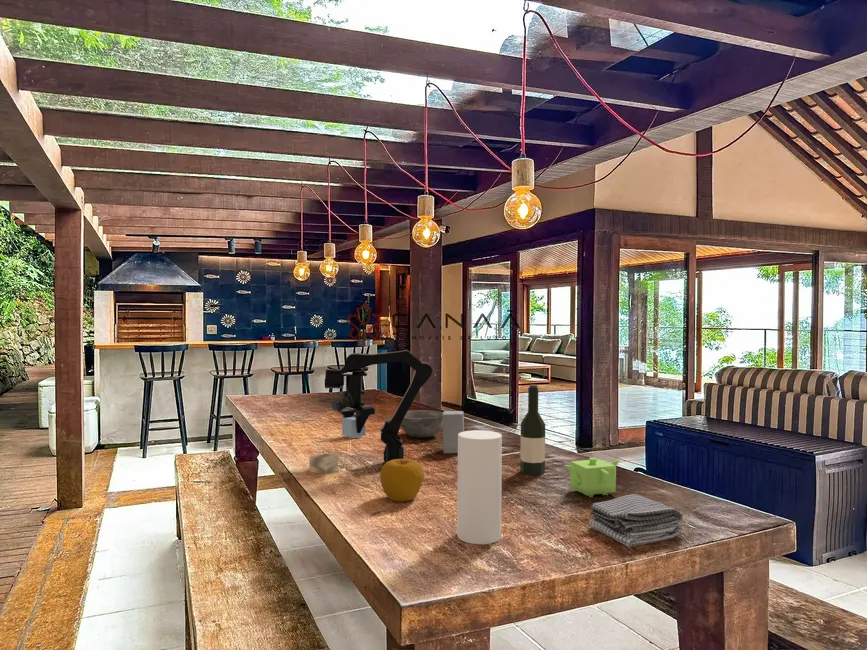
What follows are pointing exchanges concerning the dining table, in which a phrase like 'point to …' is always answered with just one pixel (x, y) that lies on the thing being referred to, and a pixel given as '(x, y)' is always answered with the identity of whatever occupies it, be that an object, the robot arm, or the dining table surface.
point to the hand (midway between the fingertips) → (353, 431)
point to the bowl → (422, 423)
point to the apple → (401, 479)
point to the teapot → (593, 476)
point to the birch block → (323, 463)
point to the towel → (635, 520)
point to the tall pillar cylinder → (479, 486)
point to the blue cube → (351, 428)
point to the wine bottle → (532, 437)
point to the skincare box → (452, 430)
